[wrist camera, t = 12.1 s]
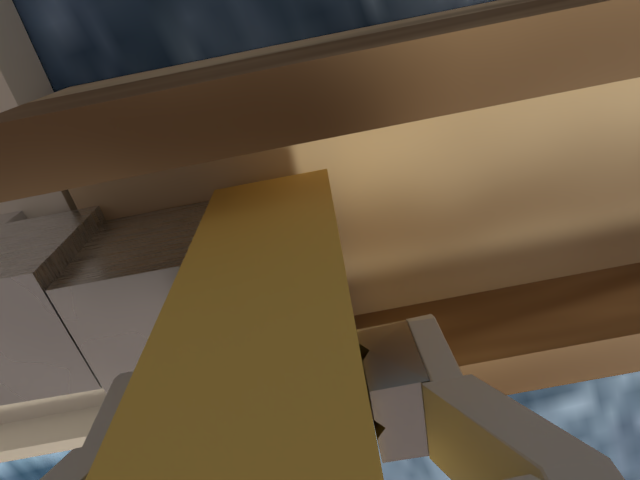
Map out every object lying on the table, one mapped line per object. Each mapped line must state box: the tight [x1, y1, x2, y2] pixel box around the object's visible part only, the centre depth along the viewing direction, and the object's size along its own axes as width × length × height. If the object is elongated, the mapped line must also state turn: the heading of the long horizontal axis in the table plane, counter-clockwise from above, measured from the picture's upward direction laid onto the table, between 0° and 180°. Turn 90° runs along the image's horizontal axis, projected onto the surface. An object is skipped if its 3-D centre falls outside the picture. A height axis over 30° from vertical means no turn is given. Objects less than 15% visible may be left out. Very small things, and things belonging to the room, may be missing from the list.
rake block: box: [85, 169, 384, 480], centre depth 8 cm, size 5×3×10 cm, turn 10°
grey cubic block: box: [45, 201, 209, 394], centre depth 12 cm, size 4×4×4 cm
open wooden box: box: [0, 0, 640, 418], centre depth 13 cm, size 10×25×6 cm, turn 100°
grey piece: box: [0, 206, 106, 406], centre depth 12 cm, size 4×4×4 cm
